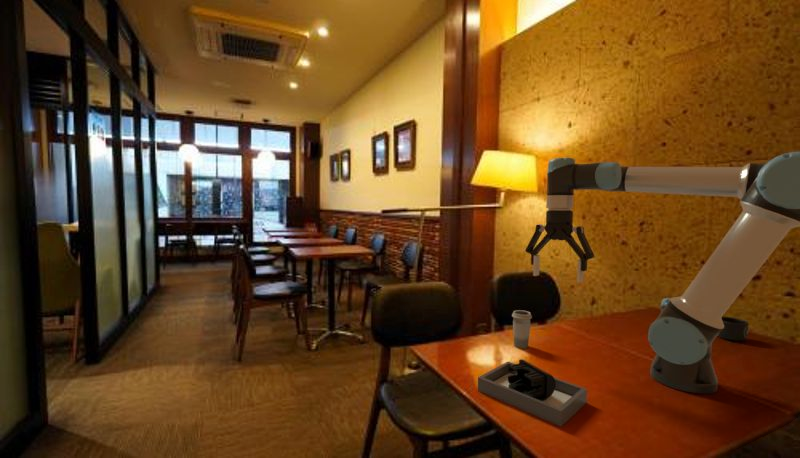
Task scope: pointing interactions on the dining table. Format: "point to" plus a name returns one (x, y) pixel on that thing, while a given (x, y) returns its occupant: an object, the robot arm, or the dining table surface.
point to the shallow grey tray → (552, 409)
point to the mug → (734, 329)
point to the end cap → (531, 380)
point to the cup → (521, 328)
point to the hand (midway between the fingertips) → (557, 278)
